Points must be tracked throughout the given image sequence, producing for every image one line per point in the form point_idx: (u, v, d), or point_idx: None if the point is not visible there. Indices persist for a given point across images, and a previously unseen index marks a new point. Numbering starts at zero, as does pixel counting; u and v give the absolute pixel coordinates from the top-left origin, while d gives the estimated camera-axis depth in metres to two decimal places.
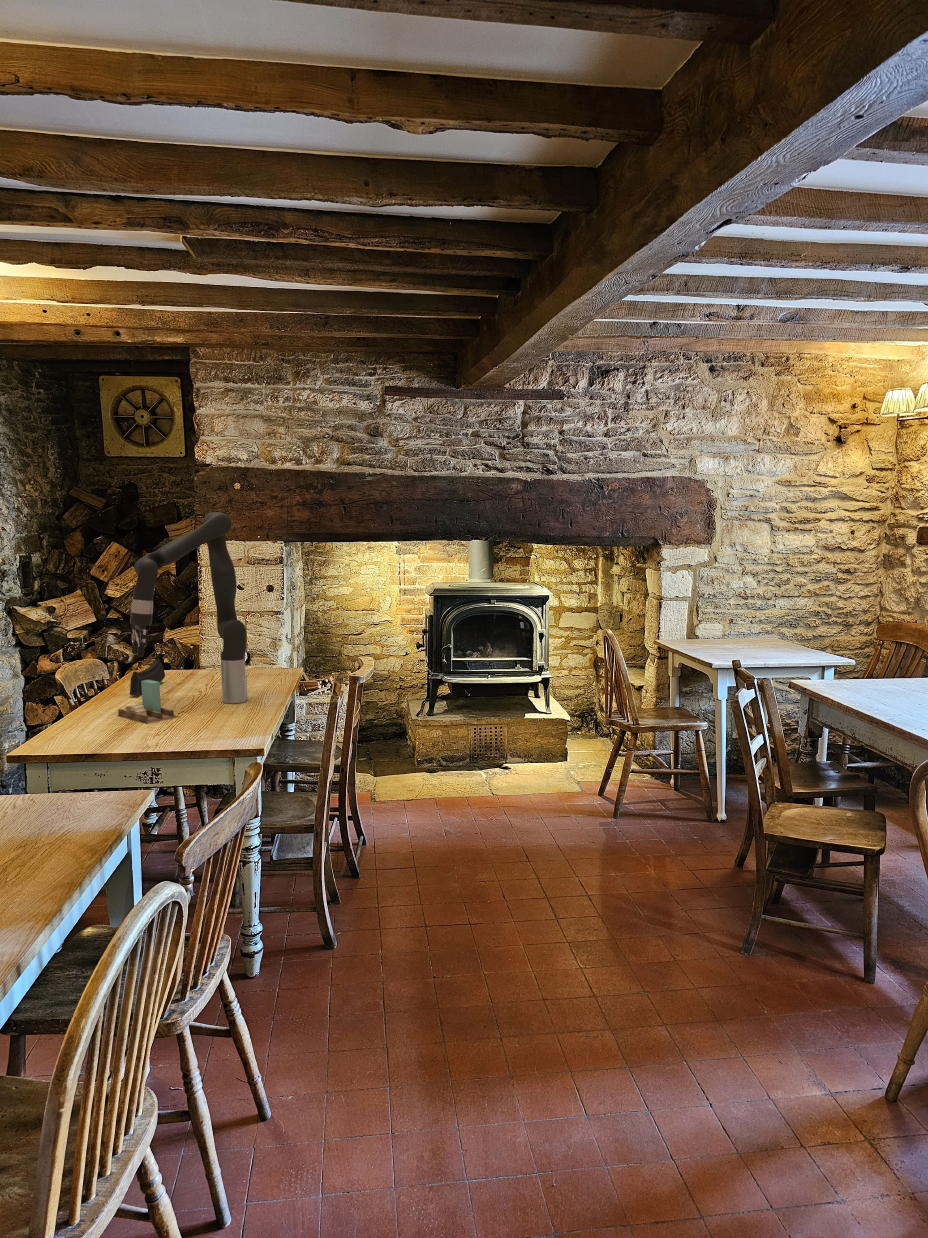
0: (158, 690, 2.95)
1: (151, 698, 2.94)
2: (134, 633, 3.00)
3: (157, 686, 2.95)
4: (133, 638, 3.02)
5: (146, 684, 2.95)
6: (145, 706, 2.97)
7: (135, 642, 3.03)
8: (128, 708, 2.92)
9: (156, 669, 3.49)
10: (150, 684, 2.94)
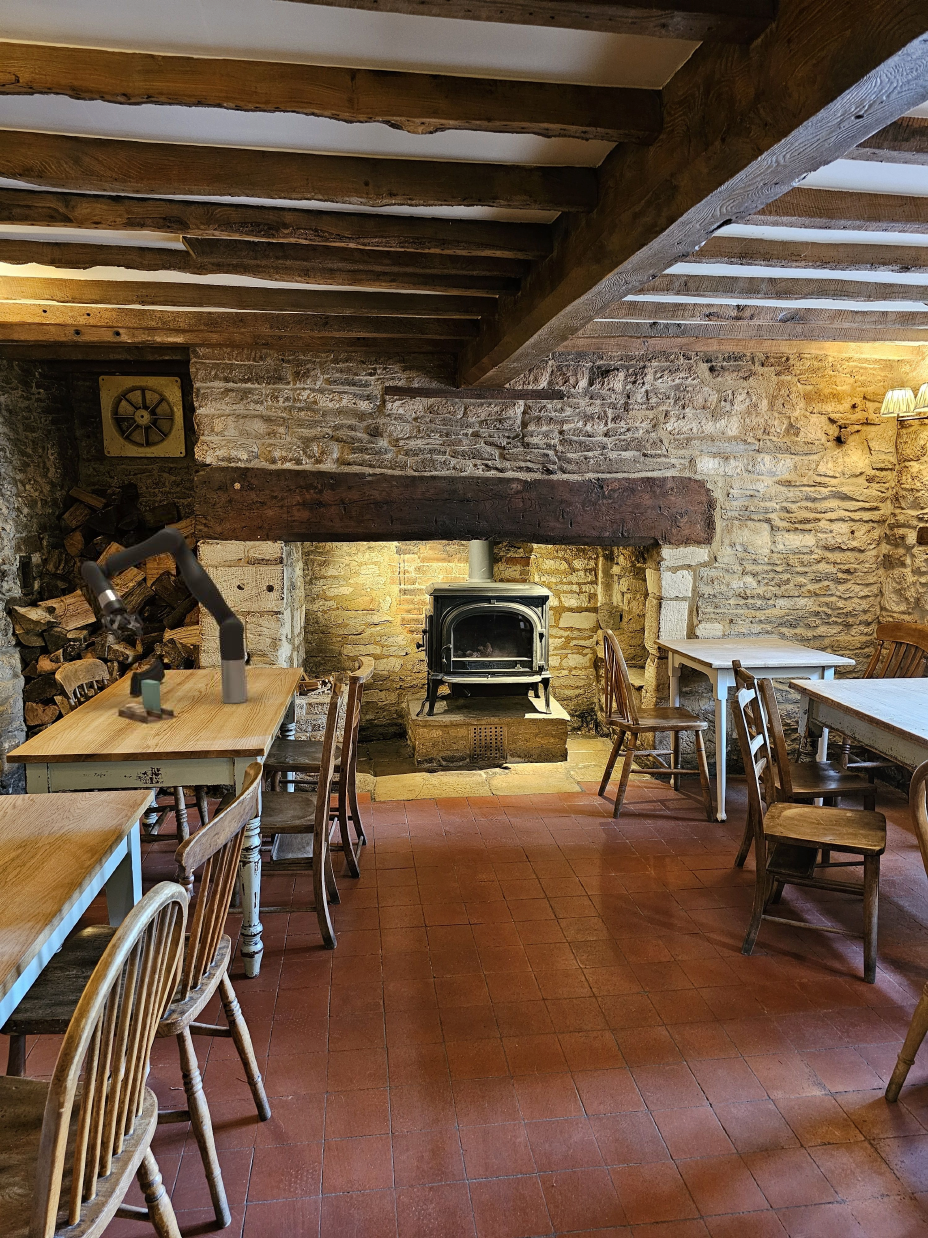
0: (158, 690, 2.95)
1: (151, 698, 2.94)
2: None
3: (157, 686, 2.95)
4: (129, 627, 3.06)
5: (146, 684, 2.95)
6: (145, 706, 2.97)
7: (135, 628, 3.06)
8: (128, 708, 2.92)
9: (156, 669, 3.49)
10: (150, 684, 2.94)
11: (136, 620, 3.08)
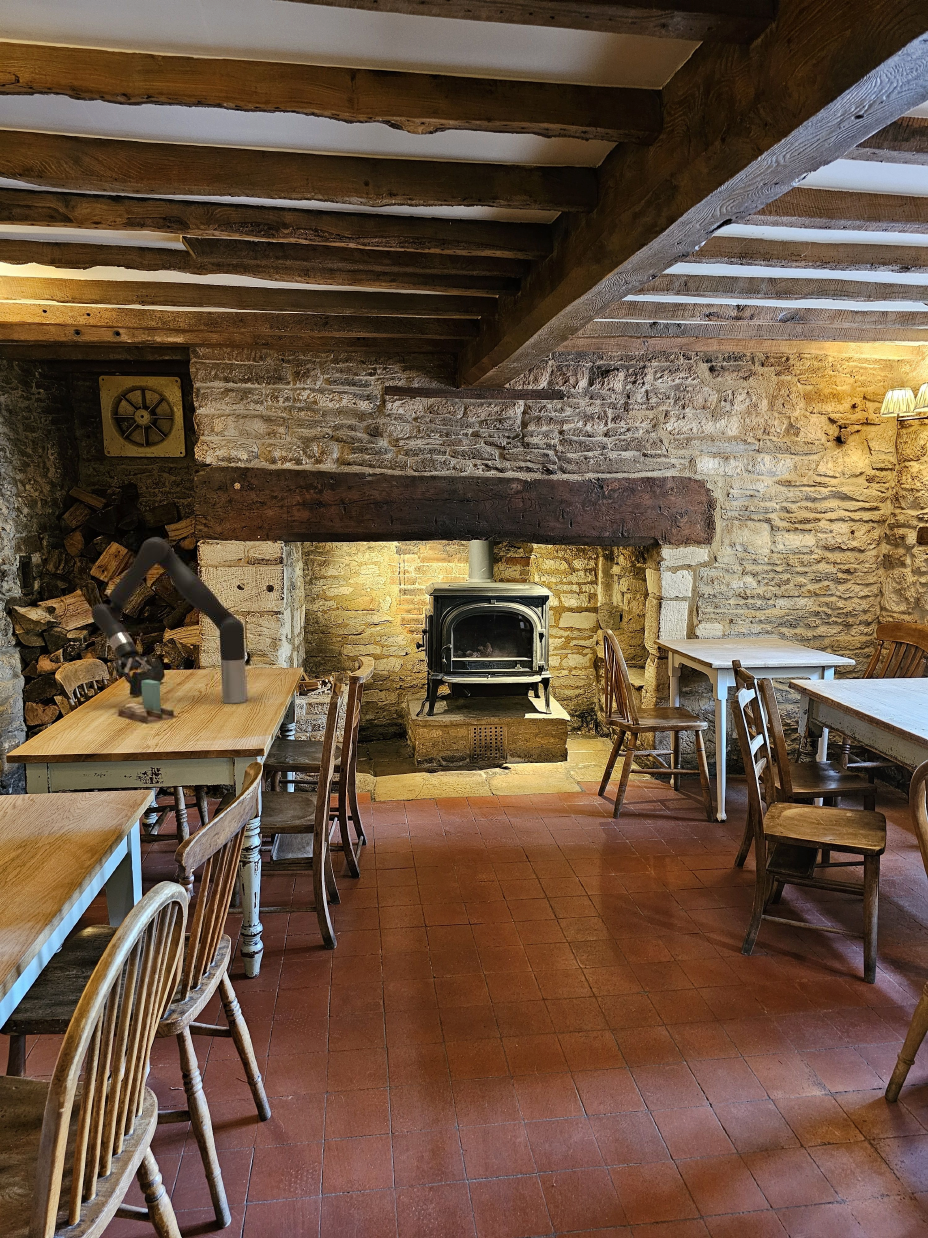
0: (158, 690, 2.95)
1: (151, 698, 2.94)
2: None
3: (157, 686, 2.95)
4: (141, 669, 3.05)
5: (146, 684, 2.95)
6: (145, 706, 2.97)
7: (147, 670, 3.04)
8: (128, 708, 2.92)
9: (156, 669, 3.49)
10: (150, 684, 2.94)
11: (147, 662, 3.07)
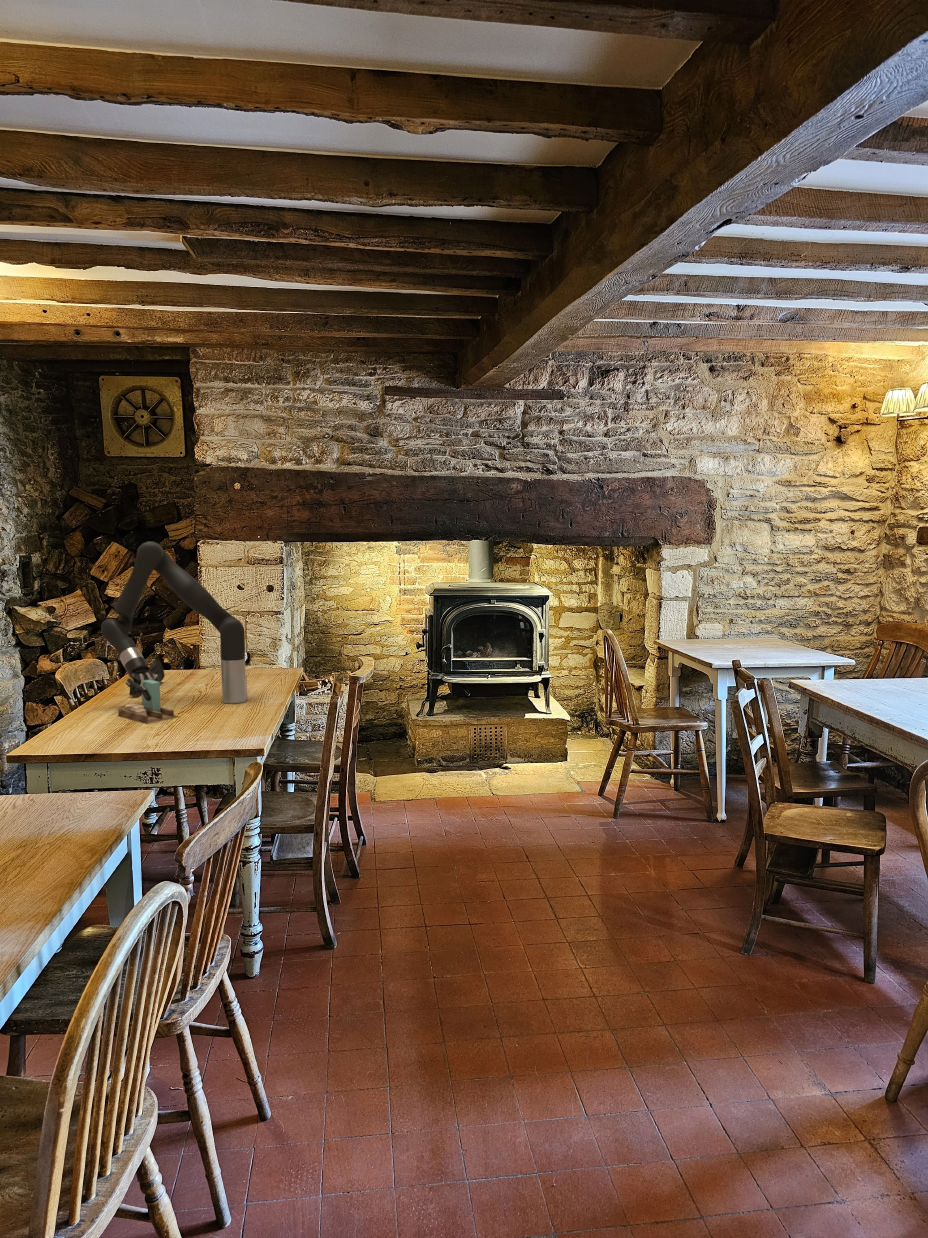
0: (158, 690, 2.95)
1: (151, 698, 2.94)
2: None
3: (157, 686, 2.95)
4: None
5: (146, 684, 2.95)
6: (145, 706, 2.97)
7: None
8: (128, 708, 2.92)
9: (156, 669, 3.49)
10: (150, 684, 2.94)
11: (156, 680, 3.02)
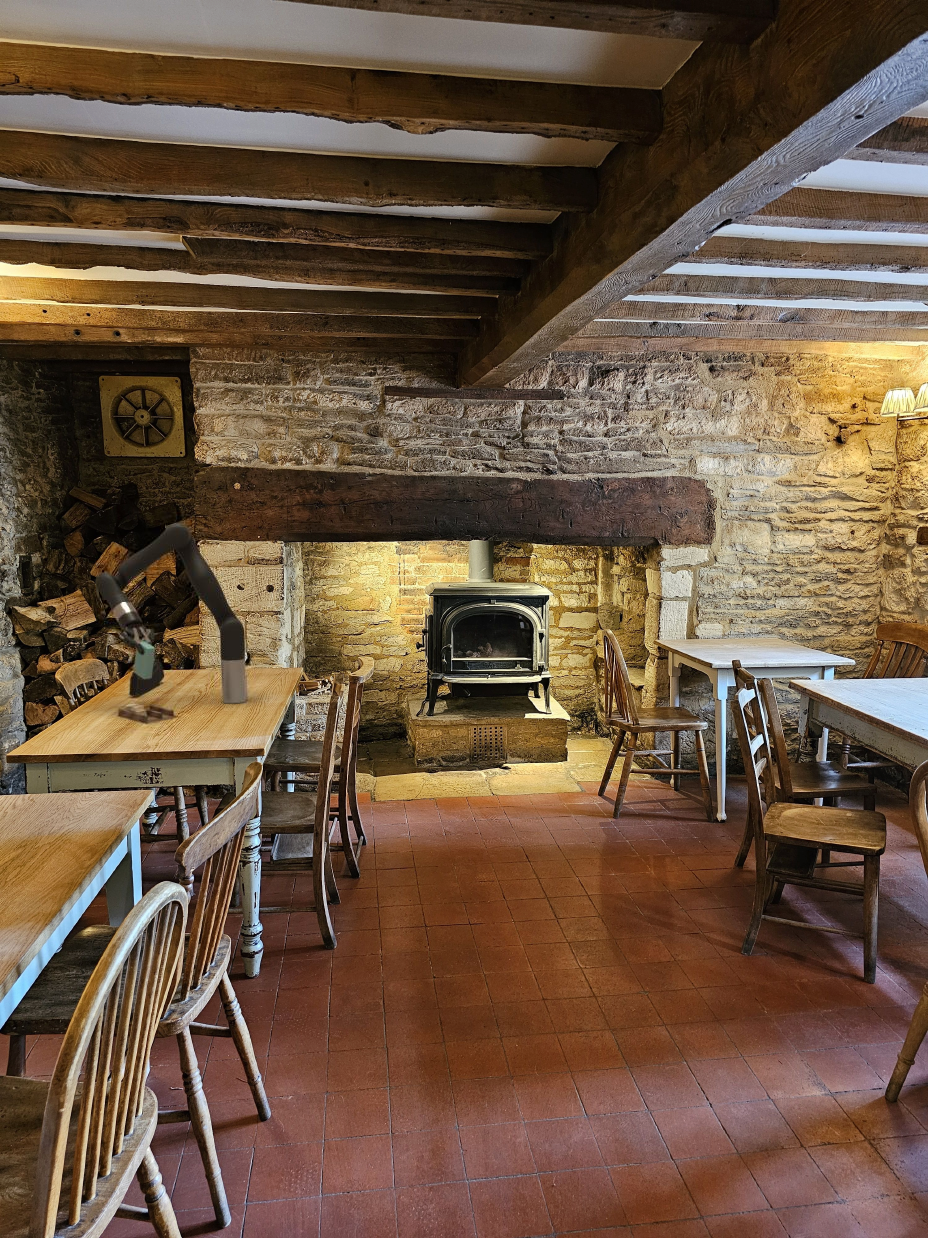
0: (152, 655, 2.95)
1: (144, 662, 2.94)
2: None
3: (152, 652, 2.94)
4: (141, 641, 2.99)
5: None
6: (137, 667, 2.98)
7: None
8: (128, 708, 2.92)
9: (155, 669, 3.49)
10: (145, 649, 2.93)
11: (149, 635, 3.01)
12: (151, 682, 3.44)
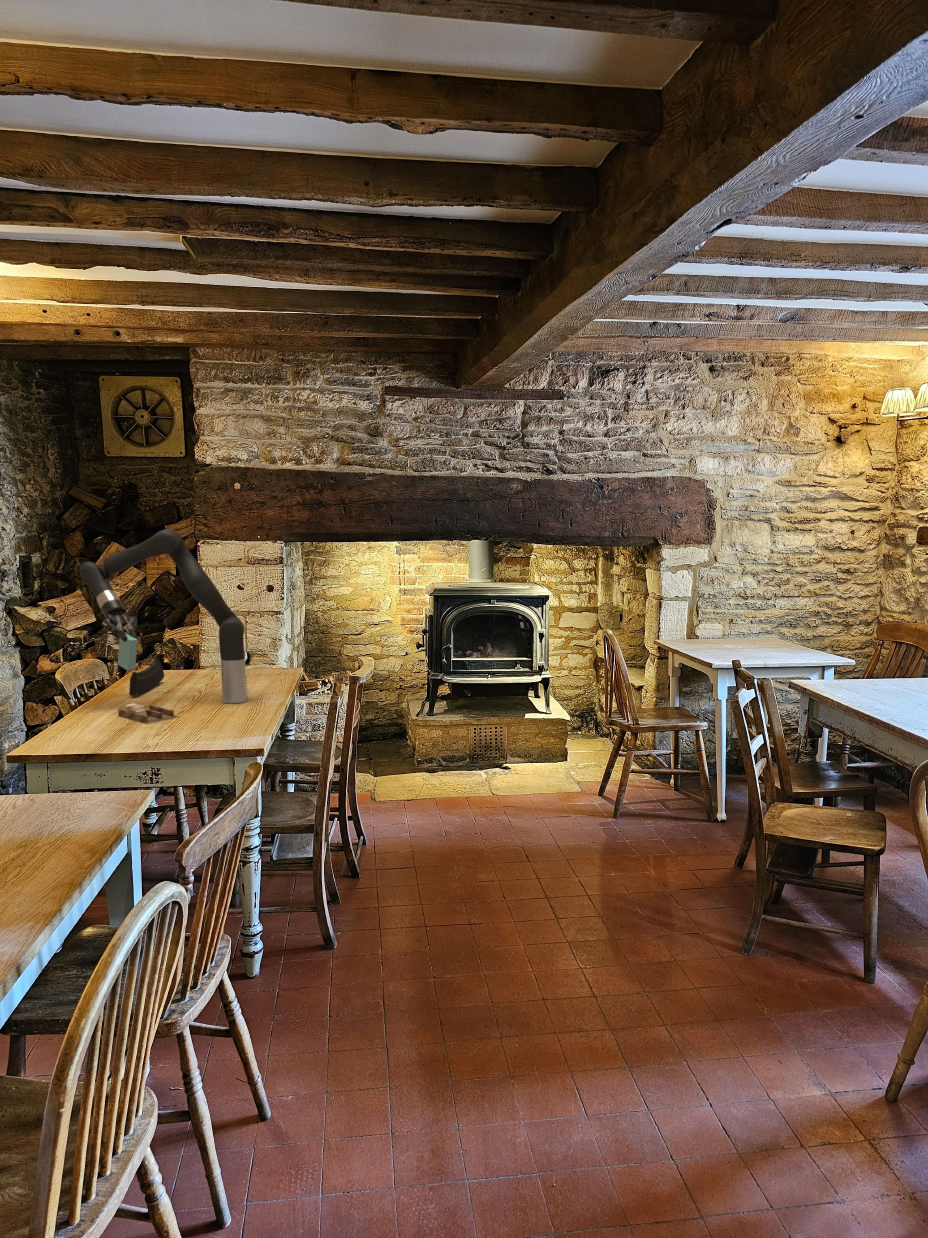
0: (135, 647, 3.02)
1: (127, 654, 3.01)
2: None
3: (135, 643, 3.01)
4: (124, 628, 3.05)
5: None
6: (120, 659, 3.04)
7: (129, 630, 3.04)
8: (128, 708, 2.92)
9: (155, 669, 3.49)
10: (128, 641, 3.00)
11: (132, 622, 3.07)
12: (151, 683, 3.43)
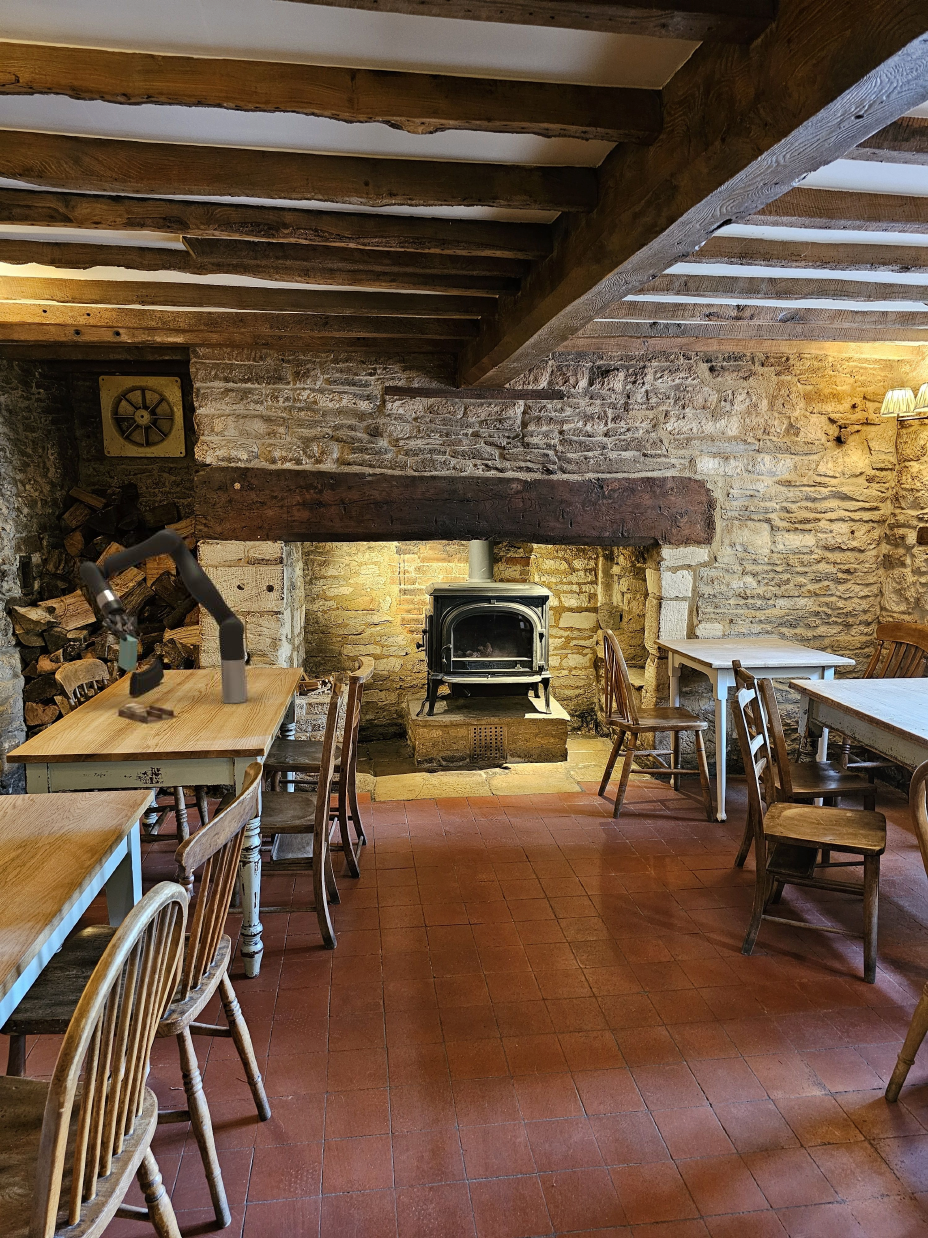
0: (135, 648, 3.01)
1: (128, 654, 3.01)
2: None
3: (135, 644, 3.01)
4: (124, 628, 3.05)
5: None
6: (121, 660, 3.04)
7: (129, 630, 3.04)
8: (128, 708, 2.92)
9: (155, 669, 3.49)
10: (128, 641, 2.99)
11: (132, 622, 3.07)
12: (151, 683, 3.43)
